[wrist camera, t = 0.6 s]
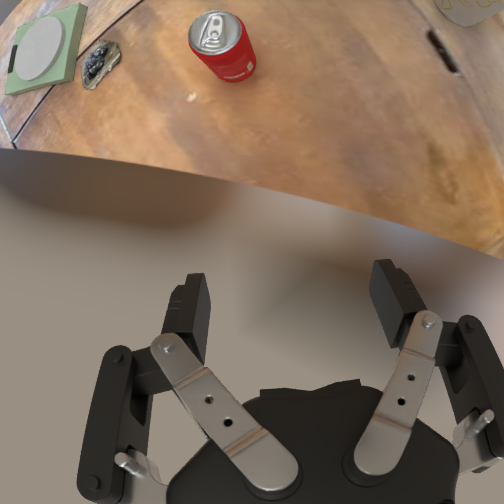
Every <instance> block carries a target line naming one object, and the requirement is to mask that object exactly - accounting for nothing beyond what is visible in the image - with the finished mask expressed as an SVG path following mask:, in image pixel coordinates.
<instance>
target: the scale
mask: <svg viewBox="0 0 504 504" xmlns="http://www.w3.org/2000/svg"><path fill="white" fill-rule="evenodd" d="M87 8H88V7H86V6H84V5H82V4H81V3H78V4H75V5H72V6H69V7H66V8H63V9H61V10H58V11H55V12H53V13H50V14H48V15H45V16H43V17H40V18H38V19H36V20H33V21H31V22H29V23H27V24H25V25H22V26H20V27H18V28H17V32H16V36H15V40H14V45H13V48H12V52H11V57H10V62H9V68H8V76H7V82H6V90H5V95H17V94H20V93H24V92H27V91H31V90H34V89H38V88H42V87H46V86H50V85H55V84H59V83H64V82H68V81H73V77H74V71H75V64H76V58H77V53H78V47H79V42H80V37H81V33H82V28H83V24H84V19H85V15H86V11H87Z"/></svg>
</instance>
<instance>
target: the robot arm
mask: <svg viewBox="0 0 504 504" xmlns="http://www.w3.org/2000/svg"><path fill="white" fill-rule="evenodd" d="M369 292H370V297H371V299H372V302H373V304H374V307H375V309H376V312H377V314H378V317H379V319H380V321H381V324H382V326H383V329H384V332H385V335H386V337H387V340H388V342H389V345H390V348H397V347H399V349H400V353H399V355H398V358H397V360H396V362H395V365H394V367H393V370H392V372H391V374H390V376H389V378H388V380H387V383H386V385H385V387H384V389H383V391H380V390H378V389H375V388H372V387H368V386H361V383H360V379H355V380H349V381H342V382H335V383H333V384H330V385H327V386H325V387H322V388H319V389H316V390H313V391H305V390H297V389H289V388H278V389H262V390H260V396H259V397H256V398H253V399H251V400H249V401H247V402H245V403H243V404H242V405H241V404H240V403H239V402H238V401H237V400H236V399H235V398H234V397H233V395H232V394H231V393H230V392H229V391H228V390H227V389H226V387H225V386H224V385H223V384H222V383H221V382H220V381H219V379H218V378H217V377H216V376H215V375H214V374H213V373H212V371H211V370H210V369H209V368H208V367H206V368H205V367H204V366H203V365H204V363H205V353H206V344H207V336H208V327H209V319H210V310H211V303H210V296H209V292H208V287H207V283H206V278H205V275H204V273H193V274H188V275H187V278H186V282H185V285H178V286H177V287H176V288H175V290H174V291H173V292H172V294H171V297H170V301H169V304H168V310H167V312H166V316H165V320H164V324H163V328H162V332H161V335H160V336H158V337H156V338H155V339H154V340H153V342H152V344H151V346H149V347H147V348H144V349H140V350H136V351H132V352H131V350H130V349H129V348H128V347H126V346H122V345H119V346H115V347H112V348H110V349H109V350H108V351H107V352H106V353H105V355H104V357H103V360H102V363H101V367H100V370H99V374H98V378H97V382H96V386H95V390H94V394H93V398H92V402H91V406H90V411H89V415H88V420H87V424H86V429H85V434H84V439H83V445H82V450H81V456H80V462H79V468H78V474H77V488H78V490H79V492H80V493H81V495H82V496H83V497H84V498H86V499H87V500H90V501H92V502H95V503H97V504H455V488H456V482H457V478H458V476H460V475H463V474H465V473H468V472H470V471H472V472H474V473H481V472H483V471H485V470H486V469H488V468H490V467H491V466H493V465H495V464H496V463H498V462H499V461H501V460H503V459H504V369H503V366H502V364H501V362H500V359H499V357H498V355H497V353H496V351H495V349H494V347H493V344H492V342H491V340H490V338H489V336H488V334H487V333H486V330H485V329H484V327H483V325H482V323H481V322H480V320H478V319H477V318H476V317H474V316H471V315H464V316H462V317H461V318H460V319H459V321H458V323H453V322H444V321H442V320H441V318H440V317H439V316H438V315H437V314H436V313H434V312H432V311H428V309H427V308H426V306H425V304H424V302H423V300H422V299H421V297H420V295H419V293H418V291H417V290H416V288H415V286H414V284H412V281H411V279H410V277H409V276H408V274H407V273H405V272H404V271H403V270H402V269H400V268H399V269H396V267H395V266H394V264H393V262H392V261H391V260H390V259H382V260H375V261H374V264H373V269H372V274H371V280H370V285H369ZM434 366H439V369H440V371H441V374H442V377H443V380H444V383H445V386H446V389H447V392H448V396H449V398H450V402H451V405H452V408H453V412H454V415H455V419H456V423H457V426H456V427H455V429H454V432H453V445H452V444H451V443H450V442H449V441H448V440H446V439H445V438H444V437H442V436H441V435H440V434H438V433H437V432H436V431H434V430H433V429H431V428H430V427H429V426H427V425H426V424H424V423H423V422H422V421H420V420H419V419H418V418H417V414H418V412H419V409H420V406H421V404H422V401H423V398H424V396H425V393H426V390H427V387H428V384H429V381H430V378H431V375H432V372H433V368H434ZM169 390H172V391H173V392H174V394H175V395H176V396H177V398H178V399H179V401H180V402H181V403H182V405H183V407H184V408H185V409H186V411H187V412H188V413H189V415H190V416H191V418H192V419H193V420H194V422H195V423H196V425H197V426H198V428H199V429H200V430H201V432H202V433H203V434H204V436H205V437H206V438H207V439H208V441H207V442H206V443H205V444H204V445H203V447H201V448H200V450H199V451H198V452H197V453H196V454H195V455H194V456H193V457H192V458H191V459H190V460H189V461H188V462H187V463H186V464H185V466H183V467H182V469H181V470H180V471H179V472H178V473H177V474H176V475H175V476H174V477H173V478H172V479H171V481H170V483H169V485H164V484H163V483H162V481H161V479H160V476H159V469H158V467H157V465H156V464H155V463H154V462H153V461H152V460H150V459H149V458H148V457H147V447H148V438H149V437H148V436H149V428H150V418H151V410H152V401H153V394H157V393H161V392H165V391H169Z"/></svg>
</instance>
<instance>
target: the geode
mask: <svg viewBox="0 0 504 504" xmlns="http://www.w3.org/2000/svg"><path fill="white" fill-rule="evenodd" d="M110 42H111V41H108V42H104V40H103V38H102V39H101V40H99V42H98V43H96V44H95V45H93V46H92V48H90V51H89V52H88V53H87V56H85V57H84V60H83V62H82V65H81V74H83V75H82V77H81V78H82V85H83V87H84V88H85V89H90V90H91V89H93V88H95V87H96V84H97V83H99V82H100V81H101V79H102V76H103V74H104V77H105V73H107V72H106V71H108V70H109V71H110V70H111V67H113V66H114V65H115V64H117V62H118V61H120V60H119V58H120V51H119V49H118V48H116V46H117V44H116V43H115V42H112V43H110Z"/></svg>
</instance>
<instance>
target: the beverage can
mask: <svg viewBox="0 0 504 504" xmlns="http://www.w3.org/2000/svg"><path fill="white" fill-rule="evenodd" d="M188 42H189V46H190V48H191V50H192V51H193V52H194V53H195V54H196V55H197V56H198V57H199V58H200V59H201V60H202V61H203V62H204V63H205V64H206V65H207V66H208V67H209V68H210V69H211V70H212V71H213V72H214V73H215V74H216V75H217V76H218V77H219V78H220V79H222V80H224V81H228V82H238V81H241V80H244V79H246V78H247V77H248V76H250V75H251V73H252V72H253V70H254V68H255V65H256V58H255V55H254V52H253V49H252V46H251V43H250V40H249V37H248V34H247V32H246V29H245V26H244V24H243V22H242V21H241V20H240V19H239V18H238V17H237V16H235V15H233V14H232V13H229V12H227V11H222V10H215V11H210V12H207V13H204V14H202V15H201V16H199V17H198V18H196V19H195V20H194V22H193V23H192V25H191V26H190V29H189V32H188Z"/></svg>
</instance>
